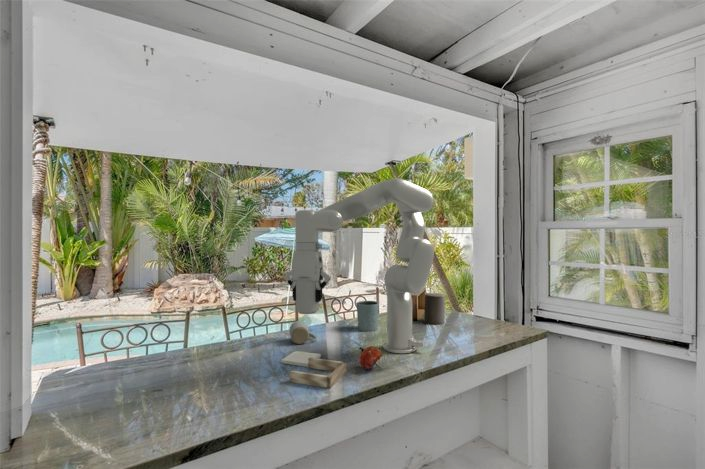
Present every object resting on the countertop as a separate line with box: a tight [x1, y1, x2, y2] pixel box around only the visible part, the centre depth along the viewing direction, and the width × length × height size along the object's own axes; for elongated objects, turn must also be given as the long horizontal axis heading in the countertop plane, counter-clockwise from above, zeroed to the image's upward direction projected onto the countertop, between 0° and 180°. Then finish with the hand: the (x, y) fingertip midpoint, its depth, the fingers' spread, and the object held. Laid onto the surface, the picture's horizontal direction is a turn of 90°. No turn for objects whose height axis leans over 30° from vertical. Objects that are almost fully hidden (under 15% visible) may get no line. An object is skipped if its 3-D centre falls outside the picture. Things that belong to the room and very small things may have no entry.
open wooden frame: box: [289, 358, 348, 389], centre depth 113 cm, size 13×13×3 cm
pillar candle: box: [423, 291, 446, 326], centre depth 180 cm, size 10×10×15 cm
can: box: [295, 277, 320, 315], centre depth 123 cm, size 8×8×12 cm
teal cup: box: [356, 300, 379, 332], centre depth 168 cm, size 10×10×12 cm
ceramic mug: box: [288, 320, 317, 345], centre depth 149 cm, size 11×8×8 cm
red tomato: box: [358, 345, 383, 371], centre depth 120 cm, size 7×7×10 cm
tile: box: [280, 350, 322, 368], centre depth 128 cm, size 10×10×1 cm
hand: (307, 300), depth 123 cm, fingers closed on can, 7 cm apart
